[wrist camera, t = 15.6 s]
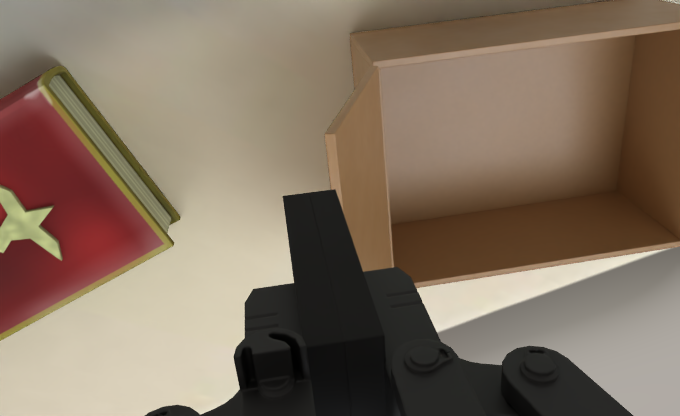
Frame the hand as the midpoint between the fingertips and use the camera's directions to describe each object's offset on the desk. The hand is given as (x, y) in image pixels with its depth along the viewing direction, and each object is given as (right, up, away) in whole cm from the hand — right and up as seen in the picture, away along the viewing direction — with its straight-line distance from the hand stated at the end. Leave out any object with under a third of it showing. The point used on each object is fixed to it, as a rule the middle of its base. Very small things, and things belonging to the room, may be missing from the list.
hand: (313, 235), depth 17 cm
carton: (+11, +7, +23) cm, 26 cm away
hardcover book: (-22, 0, +22) cm, 31 cm away
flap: (+2, -1, +10) cm, 11 cm away
